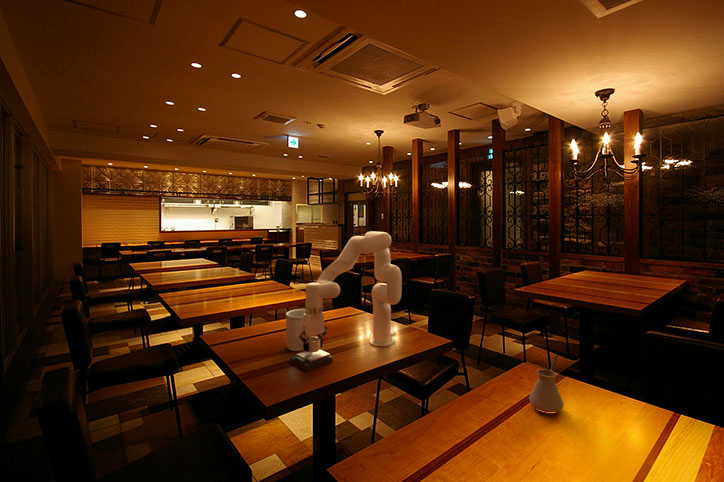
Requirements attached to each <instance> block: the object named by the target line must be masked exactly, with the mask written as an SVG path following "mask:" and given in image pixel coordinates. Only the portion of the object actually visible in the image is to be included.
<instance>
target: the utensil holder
mask: <svg viewBox="0 0 724 482" xmlns="http://www.w3.org/2000/svg"><path fill="white" fill-rule="evenodd" d="M304 314H305V308H297V309H292V310H288V311H287V312H286V313H285V323H286V325H285V327H286V334H285V335H286V349H287V350H289V351H292V352H304V349H303V342H302V341H301V340H300V338H299V337H298V334H299V333H300V332H301V327H302V319H303V315H304ZM302 336H303V337H304V335H302ZM311 337H316V335H315V336H311ZM306 338H307V337H306Z"/></svg>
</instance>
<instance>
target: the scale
mask: <svg viewBox="0 0 724 482" xmlns="http://www.w3.org/2000/svg"><path fill="white" fill-rule="evenodd" d="M331 363H333V356H332V355H330V356H327V357H324V358H321V359H319V360H316V361H313V362H308V361H307V360H305V359H303V358H301V357H299V356H296V355H294V356H291V357H289V364H291V365H293V366H294V367H297V368H299V369H301V370H302V371H305V372H308V371H312V370H315V369H317V368H320V367H323V366H325V365H329V364H331Z"/></svg>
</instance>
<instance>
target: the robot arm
mask: <svg viewBox="0 0 724 482" xmlns="http://www.w3.org/2000/svg"><path fill="white" fill-rule="evenodd" d="M392 242H393V241H392V236H391V235H390V234H389V233H388V232H384V231H376V230H375V231H374V230H373V231H372V230H369V231H367V232H366V233H365V234H364V235H354V236H352V237H350V239H349V240H348V242H346V244H345V246H344V248H343V249H342V251H341V253H340V254H339V256H338V257H337V259H335V260H334V261H333V262H332V263H330V264H329V265H328V266H326V267H325V269H324V270H322V272H321V274H320V275H319V276H318V279H317V280H316V282H308V283H307V284H306V285H305V308H304V309H305V314H304V315H303V319H302V327H301V332H300V333H299V334H298V337H299V338H300V340H301V341H302V342H303V349H304V351H306V352H308V351H309V343H308V340H309V338H310V337H311V336H315V337H316V336H317V337H319V338H320V339H321V346H320V349H321V348H323V341H324V340H323V339H324V338H325V335H326V334H327V332H328V330H329V328H328V326H327V325H325V315H324V312H323V309H325V306H324V305H323V299H335V298H337V297H338V296H339V295H340V293H341V287H340V285H339V284H338V283H337V282H335V281H334V280H335V279H336V278H337V277H338V276H339V275H341V274H344V273H346V272H348V271H350V270H352V269H353V267H354V266H355V264H356V262H357V261H358V259H359V257H360V256H361V255H362V254H364V255H368V254H373V258H374V263H373V264H374V265H373V267H374V268H373V269H374V270H373V271H374V272H373V273H374V274H373V275H374V278H375V279H376V280H377V281H379V282H378V283H376V284H374V285H373V286H372V289H371V300H372V338H370V339H369V344H371V345H372V346H374V347H388V346H392V345H393V344H394V339H393V337H395V336H397V332H396V331H393V332H391V331H392V330H391V328H392V327H391V326H392V324H391V323H392V307H391V305H397V304H399V302H400V301H401V299H402V293H403V292H402V291H403V287H402V284H403V279H402V277H403V276H402V270H401V269H400V267H399V266H398V265H395V264H391V263H392V262H391V251H390V248H389V247H390V246H391V244H392ZM302 335H304V337H303V336H302ZM306 337H307V338H306ZM304 351H303V352H304Z"/></svg>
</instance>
